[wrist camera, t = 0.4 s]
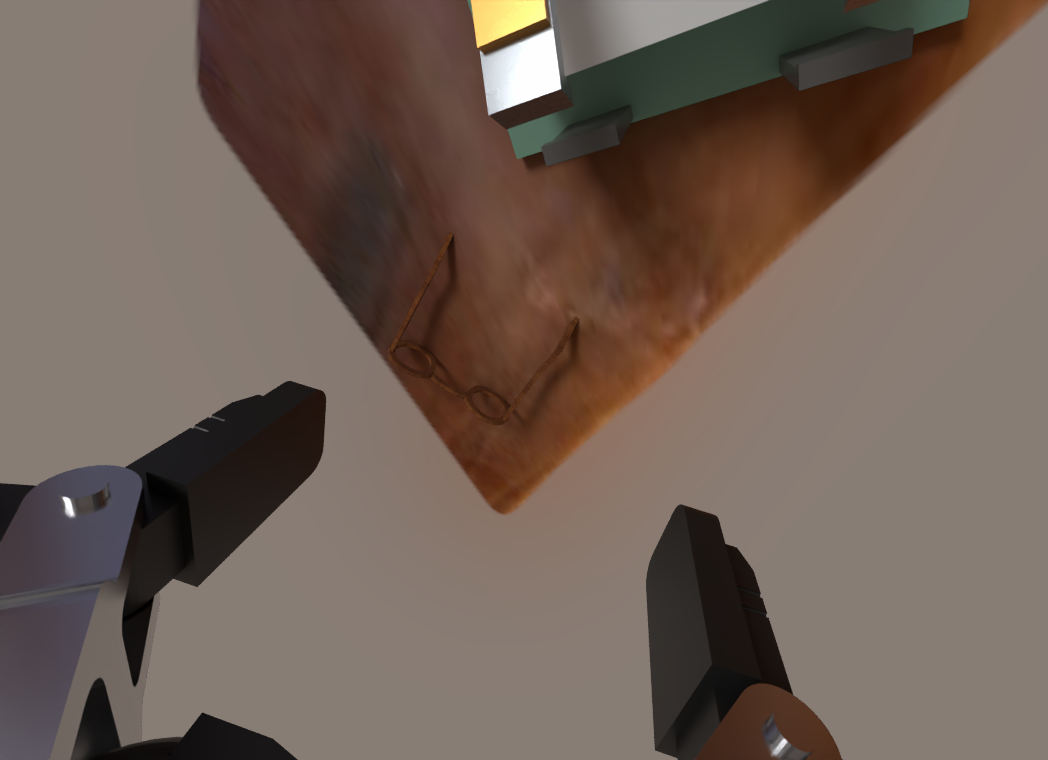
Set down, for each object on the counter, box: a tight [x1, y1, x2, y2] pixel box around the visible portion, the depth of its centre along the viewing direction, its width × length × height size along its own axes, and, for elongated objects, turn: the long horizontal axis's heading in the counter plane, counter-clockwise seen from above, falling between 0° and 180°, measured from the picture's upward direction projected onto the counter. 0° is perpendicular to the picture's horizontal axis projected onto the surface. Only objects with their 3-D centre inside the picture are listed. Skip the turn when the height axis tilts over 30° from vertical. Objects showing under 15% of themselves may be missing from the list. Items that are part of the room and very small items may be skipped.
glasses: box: [388, 233, 579, 425], centre depth 42 cm, size 13×13×5 cm
